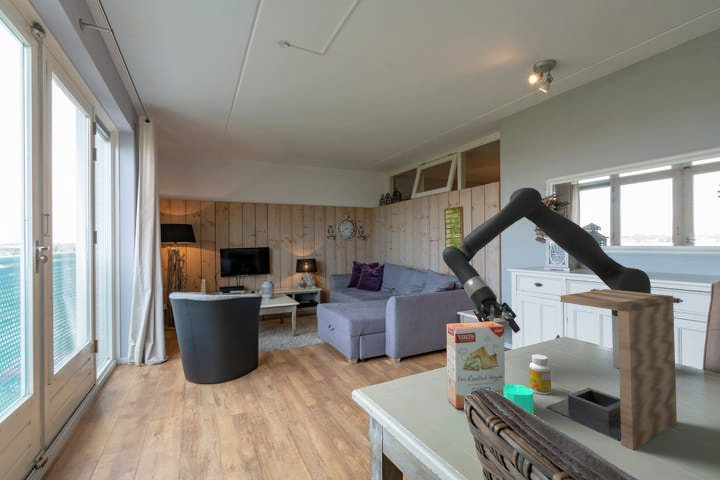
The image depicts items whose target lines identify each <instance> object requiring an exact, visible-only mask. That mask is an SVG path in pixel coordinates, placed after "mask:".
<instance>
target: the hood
mask: <svg viewBox="0 0 720 480" xmlns="http://www.w3.org/2000/svg"><path fill="white" fill-rule="evenodd" d="M559 297H560V302H561V303H564V304H565V303H566V304H573V305H578V306H586V307H592V308H599V309H606V310H611V311H612V310H618V339H619V368H618V369H619V370H618V371H619V373H618V375H619V398H620V412H621V440H620V441H621V442H620V443H621V444H620V445H621V446H623V447H626V448H628V449H630V450H631V451H634V450H635V449H637V448H638V447H641V445H644V444H645V443H647V442H649V441H650V440H652V439H654V438H655V437H657V436H659V435H660V434H662V433H664V432H666V431H667V430H668V429H670V428H672V427H673V426H676V425H677V423H678V419H677V418H678V417H677V414H678V413H677V385H676V383H677V380H676V354H675V353H676V350H675V348H676V347H675V344H676V343H675V319H674V317H675V315H674V311H675V310H674V295H667V294H666V295H665V294H659V293H658V294H657V293H651V294H649V293H639V292H629V291H620V290H611V289H610V288H609V289H607V288H604V289H598V290H591V291H584V292H577V293H570V294H564V295H560V296H559Z"/></svg>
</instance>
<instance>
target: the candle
mask: <svg viewBox="0 0 720 480" xmlns="http://www.w3.org/2000/svg"><path fill="white" fill-rule="evenodd" d="M504 397H506V398H507V399H509V400H511V401H513V402H515V403H516V404H518V405H519V406H521V407H522V408H524V409H526V410H527V411H529V412H530V413H532V414H534V413H535V412H534V411H535V410H534V392H533V390H531V389H530V388H528V387H526V386H525V385H523V384H512V383H507V384H505V386H504ZM534 415H535V414H534Z"/></svg>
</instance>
